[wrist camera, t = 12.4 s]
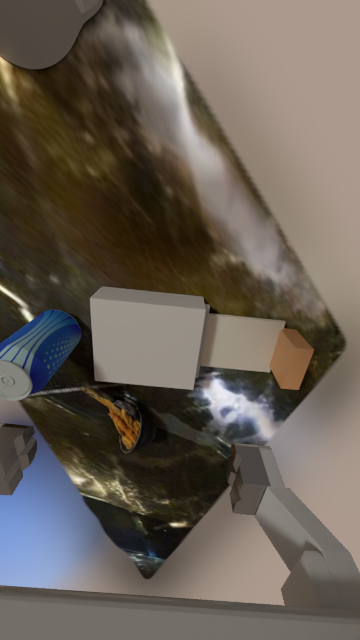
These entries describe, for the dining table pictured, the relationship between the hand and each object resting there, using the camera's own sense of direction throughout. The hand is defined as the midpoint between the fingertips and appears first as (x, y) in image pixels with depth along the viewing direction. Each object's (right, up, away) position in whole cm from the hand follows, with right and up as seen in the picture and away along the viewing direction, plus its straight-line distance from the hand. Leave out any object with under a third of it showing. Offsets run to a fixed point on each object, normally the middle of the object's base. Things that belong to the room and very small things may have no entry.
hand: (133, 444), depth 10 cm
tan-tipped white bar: (+11, +1, +35) cm, 37 cm away
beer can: (-21, +4, +36) cm, 42 cm away
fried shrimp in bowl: (-11, -14, +44) cm, 48 cm away
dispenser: (-4, +3, +36) cm, 37 cm away
